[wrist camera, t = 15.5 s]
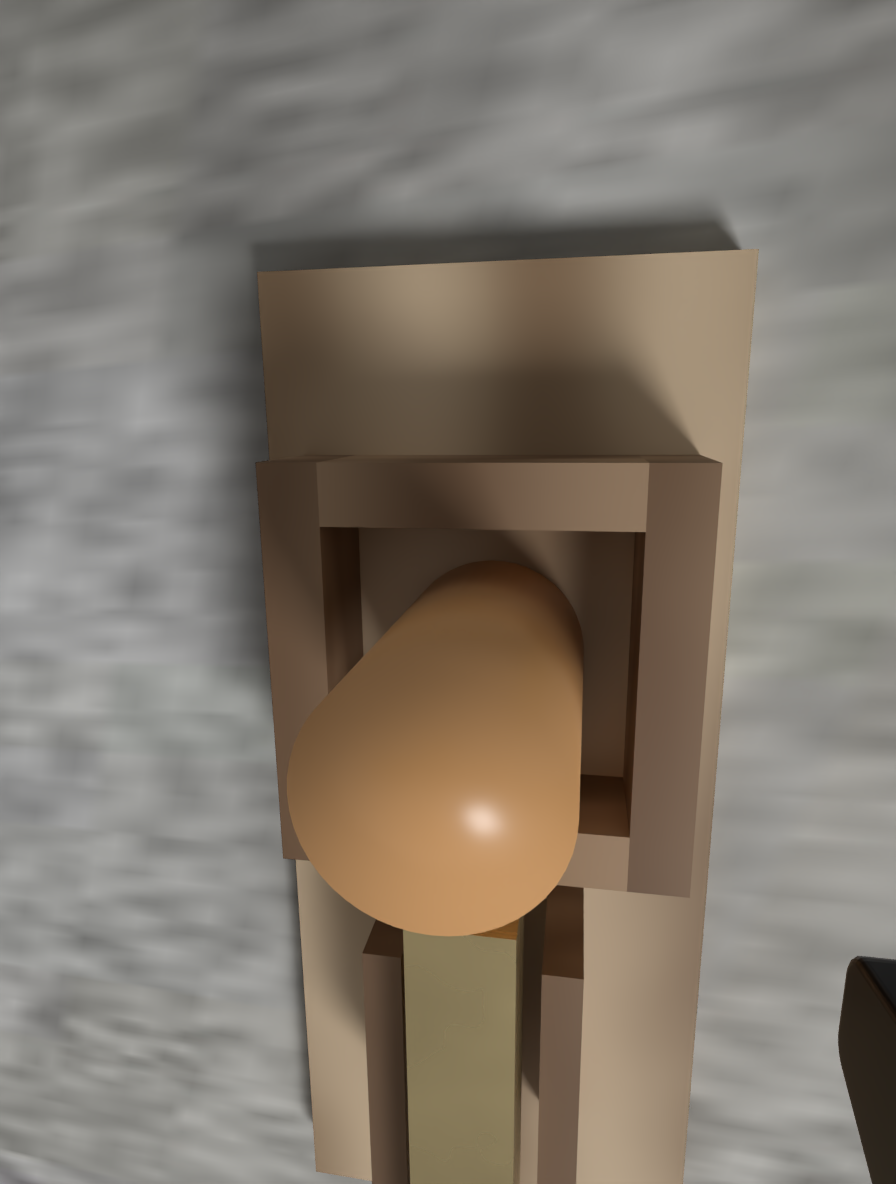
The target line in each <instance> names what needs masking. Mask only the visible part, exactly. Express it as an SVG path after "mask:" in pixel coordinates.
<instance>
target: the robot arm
mask: <svg viewBox="0 0 896 1184" xmlns="http://www.w3.org/2000/svg"><path fill="white" fill-rule="evenodd" d="M838 1046H839V1055H840V1061H841V1066H842V1070H843V1074H844V1077H845V1081H846V1085H847V1089H848V1093H849V1097H850V1100H851V1104H852V1108H853V1112H854V1116H855V1120H856V1123H857V1127H858V1131H859V1135H860V1139H861V1143H862V1146H863V1150H864V1154H865V1158H866V1162H867V1166H868V1169H869V1173H870V1177H871V1181H872V1184H896V960H894V959H884V958H874V957H865V956H857V957H855V958H854V959H852V960H851V962H850V964H849V966H848V968H847V973H846V980H845V988H844V995H843V1002H842V1010H841V1017H840V1024H839V1032H838Z"/></svg>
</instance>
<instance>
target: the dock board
mask: <svg viewBox="0 0 896 1184" xmlns="http://www.w3.org/2000/svg"><path fill="white" fill-rule="evenodd" d="M758 253H759V249H748V250H726V251H704V252H682V253H660V254H638V255H616V256H594V257H573V258H551V259H529V260H507V261H485V262H463V263H441V264H420V265H398V266H376V267H354V268H332V269H310V270H288V271H266V272H257V279H258V294H259V309H260V324H261V340H262V355H263V370H264V385H265V400H266V416H267V431H268V446H269V461H262V462H256V477H257V491H258V505H259V519H260V534H261V548H262V562H263V576H264V591H265V605H266V619H267V633H268V648H269V662H270V676H271V690H272V705H273V719H274V733H275V747H276V762H277V776H278V790H279V804H280V819H281V833H282V847H283V858H285V859H295V860H296V872H297V887H298V902H299V917H300V933H301V948H302V963H303V978H304V993H305V1009H306V1024H307V1039H308V1054H309V1069H310V1085H311V1100H312V1115H313V1130H314V1145H315V1161H316V1171H317V1172H323V1173H328V1174H334V1175H340V1176H346V1177H352V1178H357V1179H363V1180H369V1181H372V1184H410V1157H409V1121H408V1086H407V1051H406V1015H405V980H404V945H403V929H400V928H396V927H393V926H391V925H389V924H386V923H384V922H381V921H379V920H377V919H375V918H373V917H371V916H369V915H368V914H366V913H364V912H362V911H361V910H359V909H358V908H356V907H355V906H353V905H352V904H351V903H349V902H348V901H346V900H345V899H344V898H343V897H342V896H340V895H339V894H338V893H337V892H336V891H335V890H334V889H333V888H332V887H331V886H330V885H329V884H328V883H327V882H326V881H325V880H324V879H323V878H322V877H321V875H320V874H319V873H318V871H317V870H316V869H315V867H314V866H313V865H312V863H311V862H310V860H309V859H308V857H307V855H306V853H305V852H304V850H303V848H302V846H301V844H300V842H299V840H298V837H297V835H296V832H295V830H294V827H293V823H292V820H291V816H290V812H289V806H288V799H287V773H288V765H289V759H290V756H291V752H292V749H293V745H294V743H295V741H296V738H297V736H298V734H299V732H300V730H301V728H302V726H303V725H304V723H305V722H306V720H307V718H308V717H309V715H310V714H311V713H312V712H313V710H314V709H315V708H316V707H317V706H318V705H319V704H320V703H321V701H322V700H323V699H324V698H325V697H326V696H327V695H328V694H329V693H330V692H331V691H332V690H333V689H334V687H335V686H336V685H337V684H338V683H339V682H340V681H341V680H342V679H343V678H344V677H345V676H346V675H347V674H348V672H349V671H350V670H351V669H352V668H353V667H354V666H355V665H356V664H357V663H358V662H359V661H360V660H361V659H362V657H363V656H364V655H365V654H366V653H367V652H368V651H369V650H370V649H371V648H372V647H373V646H374V645H375V644H376V642H377V641H378V640H379V639H380V638H381V637H382V636H383V635H384V634H385V633H386V632H387V631H388V630H389V629H390V627H391V626H392V625H393V624H394V623H395V622H396V621H397V620H398V619H399V618H400V617H401V616H402V615H403V613H404V612H405V611H406V610H407V609H408V608H409V607H410V606H411V605H412V604H413V603H414V602H415V601H416V600H417V598H418V597H419V596H420V595H421V594H422V593H423V592H424V591H425V590H426V589H427V588H428V587H429V586H430V585H431V584H432V583H433V582H434V581H435V580H436V579H438V578H439V577H440V576H442V575H443V574H445V573H446V572H448V571H450V570H452V569H454V568H456V567H458V566H461V565H465V564H468V563H472V562H478V561H489V560H495V561H506V562H510V563H515V564H519V565H521V566H524V567H527V568H529V569H531V570H533V571H535V572H537V573H539V574H541V575H542V576H544V577H545V578H547V579H548V580H549V581H551V582H552V583H553V584H554V585H555V586H556V587H557V588H558V589H559V590H560V591H561V592H562V593H563V594H564V596H565V597H566V598H567V599H568V601H569V603H570V604H571V606H572V607H573V609H574V611H575V613H576V615H577V617H578V620H579V623H580V626H581V629H582V635H583V641H584V667H583V702H582V737H581V772H580V806H579V825H578V835H577V840H576V844H575V848H574V851H573V855H572V857H571V859H570V862H569V864H568V866H567V869H566V871H565V872H564V874H563V876H562V877H561V879H560V880H559V882H558V884H557V885H556V886H555V888H554V889H553V890H552V891H551V892H550V893H549V895H548V896H547V897H546V898H545V899H544V900H543V901H542V902H541V903H539V904H538V905H537V906H536V907H535V908H534V909H532V910H531V911H529V912H528V913H526V914H525V915H524V967H523V1030H522V1093H521V1156H520V1184H683V1175H684V1163H685V1150H686V1138H687V1126H688V1113H689V1101H690V1089H691V1077H692V1064H693V1052H694V1040H695V1027H696V1015H697V1003H698V990H699V978H700V966H701V954H702V941H703V929H704V917H705V904H706V892H707V880H708V867H709V855H710V843H711V831H712V818H713V806H714V794H715V781H716V769H717V757H718V744H719V732H720V720H721V708H722V695H723V683H724V671H725V658H726V646H727V634H728V621H729V609H730V597H731V585H732V572H733V560H734V548H735V535H736V523H737V511H738V498H739V486H740V474H741V462H742V449H743V437H744V425H745V412H746V400H747V388H748V376H749V363H750V351H751V339H752V326H753V314H754V302H755V289H756V277H757V265H758Z"/></svg>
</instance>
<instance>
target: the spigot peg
mask: <svg viewBox="0 0 896 1184" xmlns="http://www.w3.org/2000/svg"><path fill="white" fill-rule="evenodd" d="M583 667H584V641H583V635H582V629H581V626H580V623H579V620H578V617H577V615H576V613H575V611H574V609H573V607H572V606H571V604H570V603H569V601H568V599H567V598H566V597H565V596H564V594H563V593H562V592H561V591H560V590H559V589H558V588H557V587H556V586H555V585H554V584H553V583H552V582H551V581H549V580H548V579H547V578H545V577H544V576H542V575H541V574H539V573H537V572H535V571H533V570H531V569H529V568H527V567H524V566H521V565H519V564H515V563H510V562H506V561H495V560H489V561H478V562H472V563H468V564H465V565H461V566H458V567H456V568H454V569H452V570H450V571H448V572H446V573H445V574H443V575H442V576H440V577H439V578H438V579H436V580H435V581H434V582H433V583H432V584H431V585H430V586H429V587H428V588H427V589H426V590H425V591H424V592H423V593H422V594H421V595H420V596H419V597H418V598H417V600H416V601H415V602H414V603H413V604H412V605H411V606H410V607H409V608H408V609H407V610H406V611H405V612H404V613H403V615H402V616H401V617H400V618H399V619H398V620H397V621H396V622H395V623H394V624H393V625H392V626H391V627H390V629H389V630H388V631H387V632H386V633H385V634H384V635H383V636H382V637H381V638H380V639H379V640H378V641H377V642H376V644H375V645H374V646H373V647H372V648H371V649H370V650H369V651H368V652H367V653H366V654H365V655H364V656H363V657H362V659H361V660H360V661H359V662H358V663H357V664H356V665H355V666H354V667H353V668H352V669H351V670H350V671H349V672H348V674H347V675H346V676H345V677H344V678H343V679H342V680H341V681H340V682H339V683H338V684H337V685H336V686H335V687H334V689H333V690H332V691H331V692H330V693H329V694H328V695H327V696H326V697H325V698H324V699H323V700H322V701H321V703H320V704H319V705H318V706H317V707H316V708H315V709H314V710H313V712H312V713H311V714H310V715H309V717H308V718H307V720H306V722H305V723H304V725H303V726H302V728H301V730H300V732H299V734H298V736H297V738H296V741H295V743H294V745H293V749H292V752H291V756H290V759H289V765H288V773H287V799H288V806H289V812H290V816H291V820H292V823H293V827H294V830H295V832H296V835H297V837H298V840H299V842H300V844H301V846H302V848H303V850H304V852H305V853H306V855H307V857H308V859H309V860H310V862H311V863H312V865H313V866H314V867H315V869H316V870H317V871H318V873H319V874H320V875H321V877H322V878H323V879H324V880H325V881H326V882H327V883H328V884H329V885H330V886H331V887H332V888H333V889H334V890H335V891H336V892H337V893H338V894H339V895H340V896H342V897H343V898H344V899H345V900H346V901H348V902H349V903H351V904H352V905H353V906H355V907H356V908H358V909H359V910H361V911H362V912H364V913H366V914H368V915H369V916H371V917H373V918H375V919H377V920H379V921H381V922H384V923H386V924H389V925H391V926H393V927H396V928H400V929H403V930H407V931H410V932H414V933H420V934H426V935H434V936H464V935H471V934H477V933H482V932H486V931H490V930H493V929H496V928H499V927H502V926H504V925H506V924H508V923H511V922H513V921H515V920H517V919H519V918H520V917H522V916H523V915H525V914H526V913H528V912H529V911H531V910H532V909H534V908H535V907H536V906H537V905H538V904H539V903H541V902H542V901H543V900H544V899H545V898H546V897H547V896H548V895H549V893H550V892H551V891H552V890H553V889H554V888H555V886H556V885H557V884H558V882H559V880H560V879H561V877H562V876H563V874H564V872H565V871H566V869H567V866H568V864H569V862H570V859H571V857H572V855H573V851H574V848H575V844H576V840H577V835H578V825H579V806H580V772H581V737H582V702H583Z"/></svg>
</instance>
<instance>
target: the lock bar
mask: <svg viewBox="0 0 896 1184" xmlns="http://www.w3.org/2000/svg"><path fill="white" fill-rule="evenodd" d="M403 945H404V980H405V1015H406V1051H407V1086H408V1121H409V1157H410V1184H520V1156H521V1093H522V1030H523V967H524V915H523V916H522V917H520V918H519V919H517V920H515V921H513V922H511V923H508V924H506V925H504V926H502V927H499V928H496V929H493V930H490V931H486V932H482V933H477V934H471V935H464V936H434V935H426V934H420V933H414V932H410V931H407V930H403Z"/></svg>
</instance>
